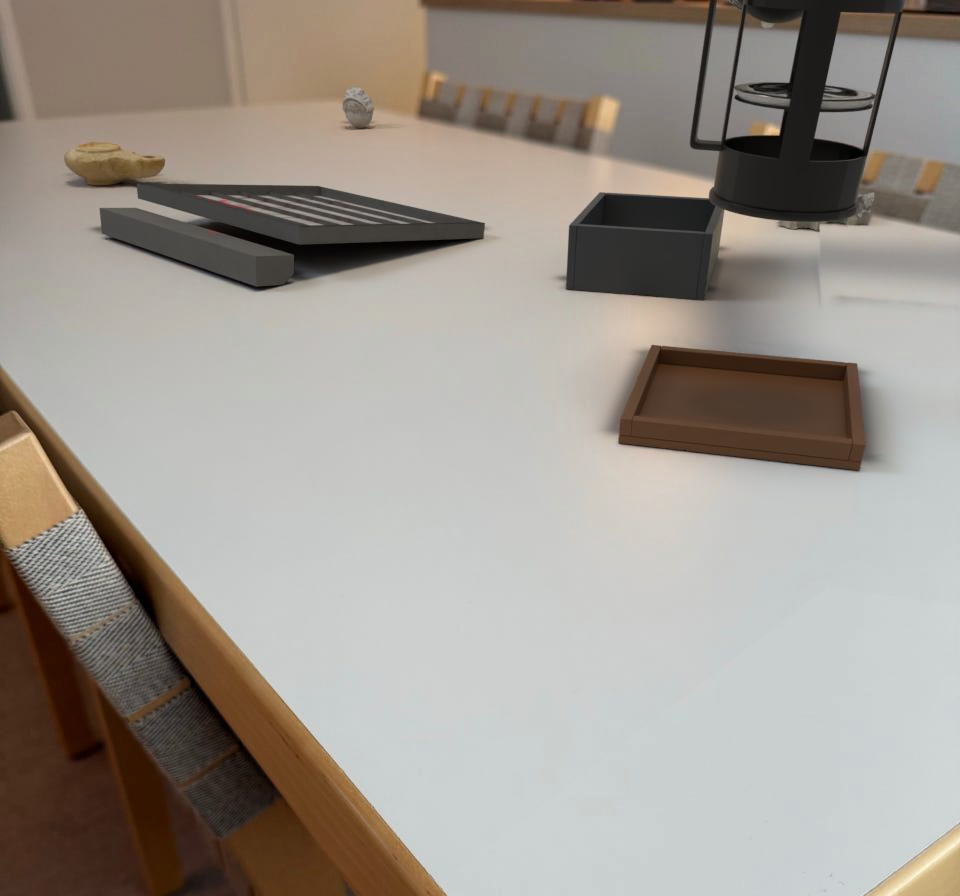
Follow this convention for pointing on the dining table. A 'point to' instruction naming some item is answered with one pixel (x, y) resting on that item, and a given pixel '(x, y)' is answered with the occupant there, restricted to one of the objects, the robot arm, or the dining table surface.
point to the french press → (795, 124)
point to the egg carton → (858, 218)
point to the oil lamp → (110, 163)
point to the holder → (644, 245)
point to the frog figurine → (358, 107)
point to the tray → (747, 407)
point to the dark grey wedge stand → (270, 225)
